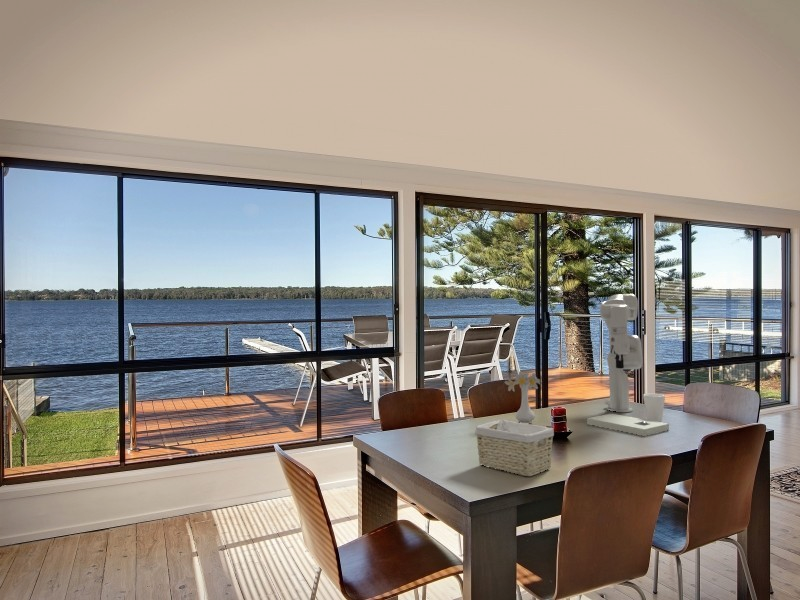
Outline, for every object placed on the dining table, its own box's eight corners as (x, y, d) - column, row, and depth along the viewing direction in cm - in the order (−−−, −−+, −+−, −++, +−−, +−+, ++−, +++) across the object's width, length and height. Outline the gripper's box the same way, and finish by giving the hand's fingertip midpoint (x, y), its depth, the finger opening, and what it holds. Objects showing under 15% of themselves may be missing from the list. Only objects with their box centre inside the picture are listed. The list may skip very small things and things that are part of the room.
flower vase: (502, 423, 271) (500, 372, 272) (527, 418, 282) (526, 369, 283) (522, 428, 261) (521, 374, 261) (548, 422, 272) (546, 371, 272)
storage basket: (474, 465, 203) (473, 425, 203) (501, 456, 214) (500, 418, 214) (529, 480, 186) (528, 435, 186) (556, 469, 197) (555, 427, 197)
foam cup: (668, 424, 264) (668, 396, 264) (649, 424, 264) (648, 396, 264) (660, 419, 273) (659, 393, 273) (640, 420, 273) (640, 393, 273)
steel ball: (638, 426, 250) (637, 420, 254) (640, 432, 252) (640, 427, 255) (647, 424, 249) (647, 419, 252) (650, 431, 250) (649, 425, 253)
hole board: (587, 424, 266) (587, 418, 266) (611, 419, 276) (611, 413, 276) (644, 436, 241) (644, 429, 241) (668, 430, 251) (668, 423, 251)
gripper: (615, 332, 266) (616, 370, 266) (635, 330, 274) (636, 367, 274) (602, 331, 272) (603, 369, 273) (622, 329, 280) (622, 365, 281)
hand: (619, 368), depth 274 cm, fingers closed
